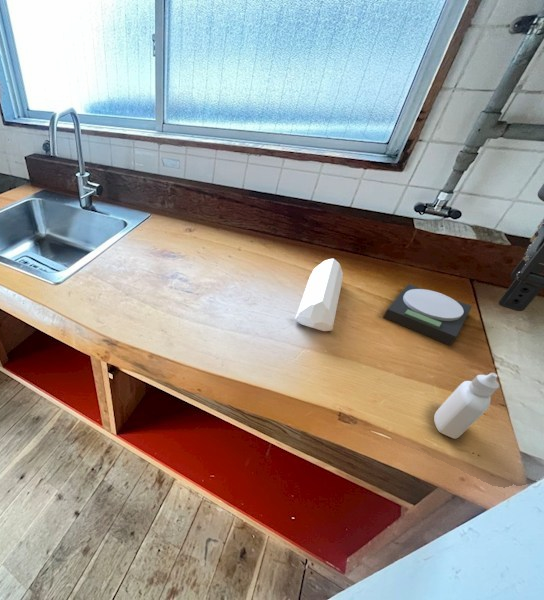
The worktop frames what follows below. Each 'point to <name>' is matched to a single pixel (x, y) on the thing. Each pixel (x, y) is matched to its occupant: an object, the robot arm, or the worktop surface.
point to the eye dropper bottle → (465, 405)
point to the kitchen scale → (428, 313)
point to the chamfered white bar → (321, 296)
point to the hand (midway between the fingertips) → (515, 293)
